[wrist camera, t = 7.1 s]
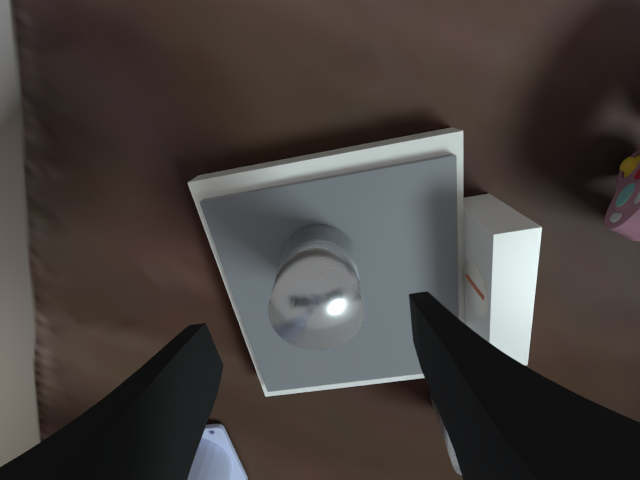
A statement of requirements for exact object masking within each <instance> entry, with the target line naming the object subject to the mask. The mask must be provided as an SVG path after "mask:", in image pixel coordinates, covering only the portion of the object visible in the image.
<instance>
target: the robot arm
mask: <svg viewBox="0 0 640 480" xmlns="http://www.w3.org/2000/svg"><path fill="white" fill-rule="evenodd" d="M409 301H410V312H411V324H412V335H413V343H414V346H415V350H416V353H417V357H418V360H419V364H420V367H421V370H422V372H423V375H424V377H425V380H426V382H427V385H428V387H429V389H430V392H431V394H432V397H433V399H434V402H435V404H436V406H437V409H438V411H439V414H440V416H441V418H442V421H443V423H444V426H445V428H446V430H447V433H448V435H449V438H450V441H451V443H452V446H453V449H454V452H455V455H456V458H457V461H458V464H459V467H460V471H461V474H462V477H463V480H640V422H637V421H635V420H632V419H630V418H628V417H626V416H623V415H621V414H619V413H617V412H614V411H612V410H610V409H608V408H606V407H603V406H601V405H599V404H597V403H595V402H592V401H590V400H588V399H586V398H584V397H582V396H580V395H578V394H576V393H574V392H572V391H570V390H568V389H566V388H564V387H562V386H560V385H558V384H557V383H555V382H553V381H551V380H549V379H547V378H545V377H543V376H542V375H540V374H538V373H536V372H534V371H533V370H531V369H529V368H528V367H526V366H524V365H523V364H521V363H519V362H518V361H516V360H515V359H513V358H511V357H510V356H508V355H507V354H505V353H504V352H502V351H501V350H499V349H498V348H496V347H495V346H493V345H492V344H491V343H489V342H488V341H487V340H485V339H484V338H482V337H481V336H480V335H478V334H477V333H476V332H475V331H473V330H472V329H471V328H470V327H468V326H467V325H466V324H465V323H463V322H462V321H461V320H460V319H458V318H457V317H456V316H455V315H454V314H453V313H451V312H450V311H449V310H448V309H447V308H446V307H445V306H443V305H442V304H441V303H440V302H439V301H438V300H437V299H436V298H435V297H434V296H433V295H431V294H430V293H429V292H428V291H426V292H419V293H412V294H409ZM222 370H223V363H222V361H221V359H220V356H219V354H218V351H217V349H216V347H215V344H214V342H213V339H212V337H211V335H210V332H209V330H208V327H207V325H206V323H203V324H196V325H190V326H188V327H187V328H186V329H184V330H183V331H182V332H181V333H179V334H178V335H177V336H176V337H175V338H174V339H172V340H171V341H170V342H169V343H168V344H167V345H166V346H165V347H163V348H162V349H161V350H160V351H159V352H158V353H157V354H156V355H154V356H153V357H152V358H151V359H150V360H149V361H148V362H147V363H145V364H144V365H143V366H142V367H141V368H140V369H139V370H137V371H136V372H135V373H134V374H133V375H131V376H130V377H129V378H128V379H127V380H125V381H124V382H123V383H122V384H121V385H119V386H118V387H117V388H116V389H115V390H113V391H112V392H111V393H110V394H108V395H107V396H106V397H105V398H103V399H102V400H101V401H99V402H98V403H97V404H95V405H94V406H93V407H91V408H90V409H89V410H87V411H86V412H85V413H83V414H82V415H80V416H79V417H78V418H76V419H75V420H73V421H72V422H71V423H69V424H68V425H66V426H65V427H63V428H62V429H60V430H59V431H57V432H56V433H54V434H53V435H51V436H50V437H48V438H46V439H45V440H43V441H42V442H40V443H39V444H37V445H36V446H34V447H33V448H31V449H30V450H28V451H27V452H25V453H24V454H22V455H20V456H18V457H17V458H15V459H13V460H12V461H10V462H8V463H7V464H5V465H3V466H2V467H0V480H247V479H248V478H247V475H246V473H245V471H244V469H243V467H242V464H241V462H240V460H239V458H238V456H237V454H236V452H235V449H234V447H233V445H232V443H231V441H230V439H229V437H228V434H227V432H226V430H225V428H224V426H223V425H221V424H209V425H206V424H207V422H208V419H209V416H210V413H211V410H212V408H213V405H214V402H215V399H216V396H217V393H218V389H219V384H220V380H221V375H222Z"/></svg>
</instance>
